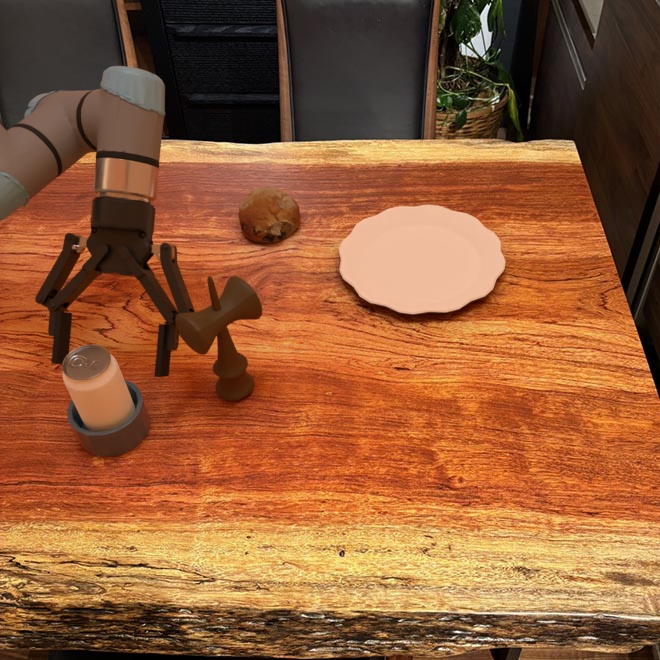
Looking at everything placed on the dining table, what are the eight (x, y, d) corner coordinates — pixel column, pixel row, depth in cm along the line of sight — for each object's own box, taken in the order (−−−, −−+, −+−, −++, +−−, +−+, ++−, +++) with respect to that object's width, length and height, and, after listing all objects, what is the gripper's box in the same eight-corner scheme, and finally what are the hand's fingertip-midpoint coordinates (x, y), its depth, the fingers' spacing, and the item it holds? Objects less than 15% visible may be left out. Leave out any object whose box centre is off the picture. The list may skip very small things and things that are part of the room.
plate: (438, 195, 134) (438, 186, 133) (537, 278, 120) (539, 268, 119) (309, 251, 126) (308, 241, 124) (399, 347, 112) (399, 337, 110)
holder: (63, 442, 102) (51, 420, 99) (107, 391, 108) (98, 369, 104) (122, 466, 99) (112, 445, 96) (164, 413, 105) (156, 391, 102)
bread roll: (306, 233, 134) (307, 185, 131) (290, 248, 125) (291, 197, 122) (249, 228, 136) (249, 180, 132) (229, 242, 126) (228, 191, 123)
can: (102, 401, 106) (74, 337, 97) (147, 409, 105) (123, 346, 96) (79, 439, 102) (47, 377, 93) (125, 448, 101) (98, 386, 91)
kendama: (277, 379, 108) (257, 266, 93) (223, 421, 104) (193, 310, 89) (248, 358, 111) (224, 245, 96) (193, 398, 106) (159, 286, 91)
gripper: (231, 213, 101) (215, 379, 103) (47, 195, 105) (35, 357, 106) (210, 204, 94) (194, 383, 95) (13, 185, 97) (0, 359, 99)
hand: (110, 370), depth 101 cm, fingers open, 13 cm apart
